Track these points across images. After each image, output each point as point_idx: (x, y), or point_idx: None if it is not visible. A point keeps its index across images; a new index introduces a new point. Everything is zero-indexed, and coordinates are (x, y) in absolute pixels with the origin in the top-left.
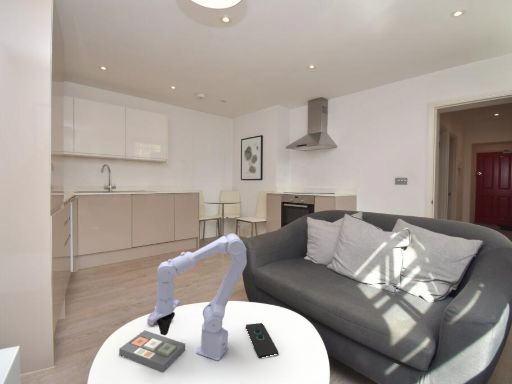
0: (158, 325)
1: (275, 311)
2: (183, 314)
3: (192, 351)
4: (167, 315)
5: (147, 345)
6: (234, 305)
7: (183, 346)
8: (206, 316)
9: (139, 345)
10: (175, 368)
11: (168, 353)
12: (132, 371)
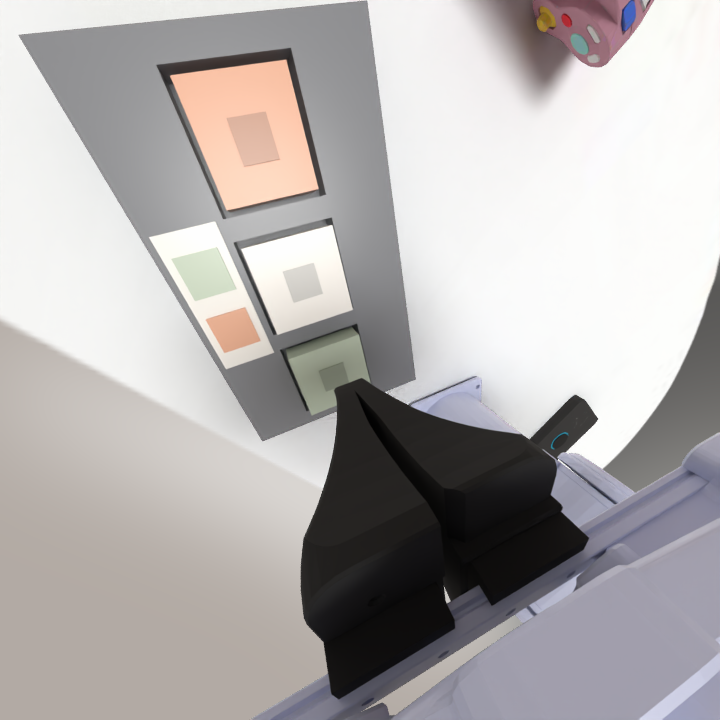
0: (335, 443)
1: (653, 390)
2: (626, 89)
3: (410, 388)
4: (457, 592)
5: (261, 273)
6: (693, 268)
7: (401, 381)
8: (558, 590)
9: (228, 190)
10: (310, 425)
11: (316, 411)
12: (131, 328)
